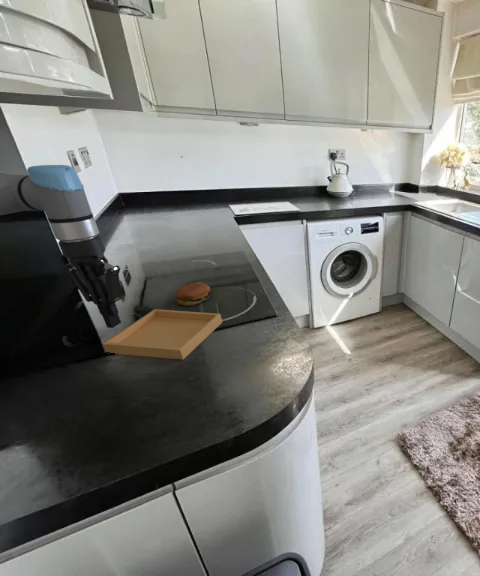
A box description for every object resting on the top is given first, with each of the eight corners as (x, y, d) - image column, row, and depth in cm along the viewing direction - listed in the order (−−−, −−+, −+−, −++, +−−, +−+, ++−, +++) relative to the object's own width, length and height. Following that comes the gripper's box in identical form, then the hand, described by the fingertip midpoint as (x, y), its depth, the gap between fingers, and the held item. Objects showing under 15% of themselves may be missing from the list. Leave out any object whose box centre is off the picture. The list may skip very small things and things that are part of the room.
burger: (172, 307, 97) (168, 294, 95) (184, 294, 105) (180, 281, 103) (207, 305, 99) (204, 291, 97) (216, 292, 107) (213, 279, 105)
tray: (106, 353, 77) (102, 343, 76) (157, 317, 92) (154, 309, 91) (183, 359, 75) (180, 350, 74) (222, 322, 90) (220, 313, 89)
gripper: (119, 234, 76) (148, 319, 87) (69, 231, 78) (104, 315, 88) (90, 244, 70) (125, 335, 80) (36, 240, 71) (77, 330, 81)
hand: (114, 324), depth 84 cm, fingers closed
